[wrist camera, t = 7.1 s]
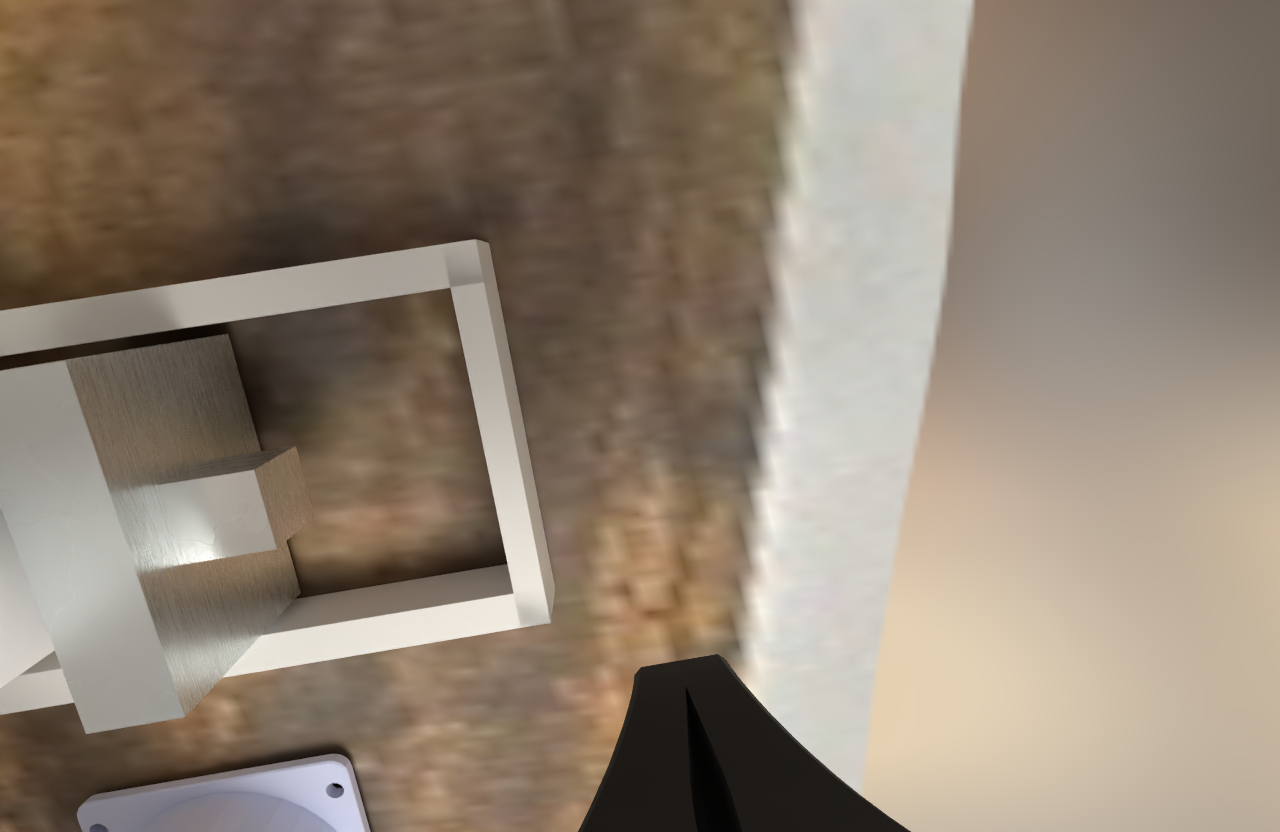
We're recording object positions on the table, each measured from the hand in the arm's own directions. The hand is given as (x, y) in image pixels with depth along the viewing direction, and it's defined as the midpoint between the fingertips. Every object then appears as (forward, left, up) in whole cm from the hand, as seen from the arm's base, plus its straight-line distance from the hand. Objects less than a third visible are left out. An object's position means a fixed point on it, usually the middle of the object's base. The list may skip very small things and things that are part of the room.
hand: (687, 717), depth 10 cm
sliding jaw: (+3, +10, -9) cm, 14 cm away
